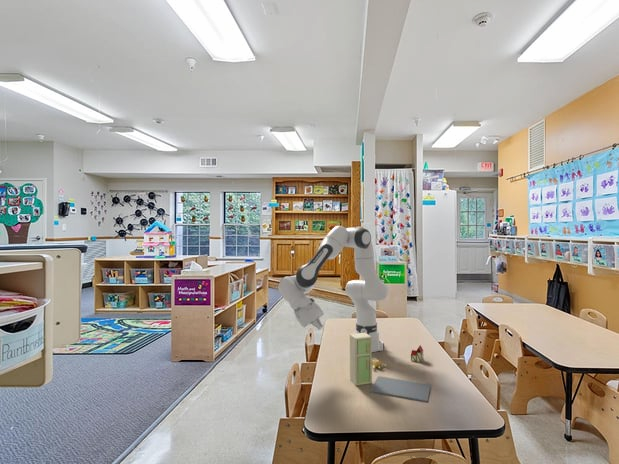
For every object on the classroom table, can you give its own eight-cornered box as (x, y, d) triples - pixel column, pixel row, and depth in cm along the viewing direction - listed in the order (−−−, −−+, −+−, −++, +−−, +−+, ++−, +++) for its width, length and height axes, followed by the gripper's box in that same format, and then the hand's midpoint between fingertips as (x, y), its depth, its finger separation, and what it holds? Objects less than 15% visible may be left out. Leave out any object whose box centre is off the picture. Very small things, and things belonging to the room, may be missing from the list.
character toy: (374, 364, 170) (366, 359, 178) (374, 371, 170) (366, 365, 178) (388, 362, 173) (380, 357, 180) (388, 369, 173) (380, 363, 180)
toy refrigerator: (356, 386, 154) (355, 338, 154) (349, 379, 161) (349, 333, 161) (372, 384, 156) (372, 337, 156) (365, 377, 163) (365, 332, 163)
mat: (378, 377, 163) (378, 376, 163) (430, 385, 154) (430, 384, 154) (369, 391, 149) (369, 390, 149) (427, 402, 140) (427, 400, 140)
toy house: (424, 363, 181) (424, 347, 181) (411, 362, 182) (410, 347, 182) (423, 359, 187) (423, 344, 187) (410, 358, 188) (410, 343, 188)
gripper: (297, 305, 159) (317, 329, 156) (314, 297, 178) (333, 319, 174) (288, 314, 161) (308, 338, 157) (306, 305, 180) (324, 327, 176)
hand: (321, 328), depth 166 cm, fingers closed
